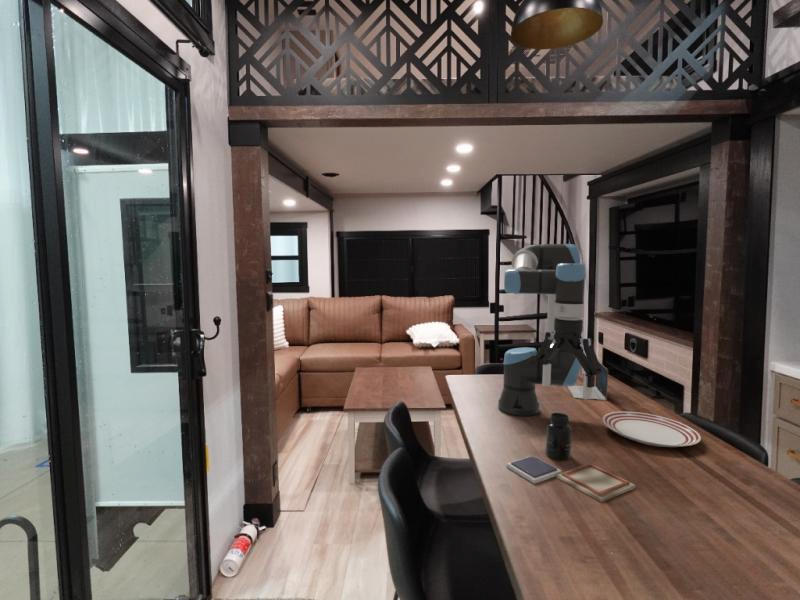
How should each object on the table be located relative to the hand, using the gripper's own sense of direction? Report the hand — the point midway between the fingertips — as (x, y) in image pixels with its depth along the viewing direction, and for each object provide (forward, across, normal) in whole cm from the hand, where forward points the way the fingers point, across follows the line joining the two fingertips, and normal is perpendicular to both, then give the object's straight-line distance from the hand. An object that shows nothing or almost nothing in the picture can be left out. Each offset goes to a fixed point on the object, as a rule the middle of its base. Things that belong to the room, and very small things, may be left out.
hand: (565, 391), depth 121 cm
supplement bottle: (+19, -1, -1) cm, 19 cm away
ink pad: (+19, +2, -14) cm, 24 cm away
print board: (+19, +14, -6) cm, 24 cm away
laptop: (+19, -33, +58) cm, 70 cm away
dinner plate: (+19, +5, +36) cm, 42 cm away
